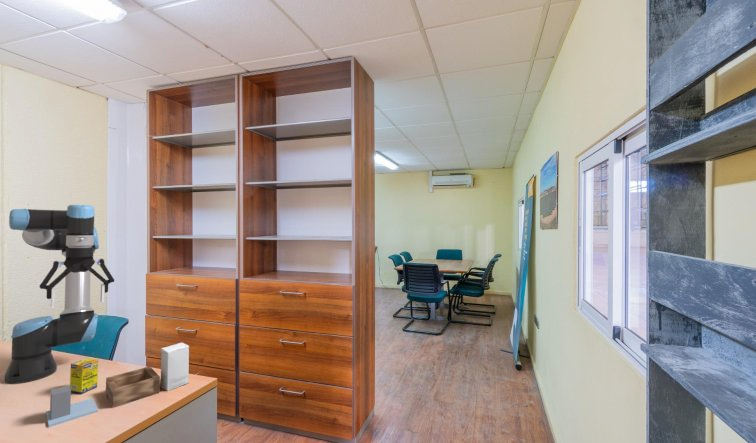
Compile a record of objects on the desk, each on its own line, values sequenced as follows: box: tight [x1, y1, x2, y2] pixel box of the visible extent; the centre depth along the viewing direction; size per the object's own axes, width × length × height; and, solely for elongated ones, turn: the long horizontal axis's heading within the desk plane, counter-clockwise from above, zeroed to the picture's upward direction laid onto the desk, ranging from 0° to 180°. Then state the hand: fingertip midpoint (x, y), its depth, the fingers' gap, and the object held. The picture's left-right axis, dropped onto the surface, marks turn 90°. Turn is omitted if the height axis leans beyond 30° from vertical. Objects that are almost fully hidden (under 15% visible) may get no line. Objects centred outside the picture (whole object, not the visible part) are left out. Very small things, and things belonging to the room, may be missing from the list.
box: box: [105, 366, 161, 408], centre depth 125 cm, size 14×13×6 cm
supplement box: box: [69, 357, 99, 395], centre depth 127 cm, size 6×6×11 cm
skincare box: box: [160, 342, 190, 392], centre depth 132 cm, size 8×7×16 cm
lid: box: [45, 384, 99, 428], centre depth 112 cm, size 12×11×9 cm
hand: (78, 304), depth 120 cm, fingers open, 13 cm apart
